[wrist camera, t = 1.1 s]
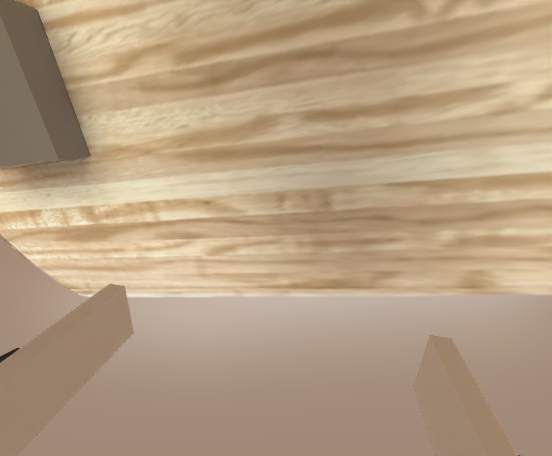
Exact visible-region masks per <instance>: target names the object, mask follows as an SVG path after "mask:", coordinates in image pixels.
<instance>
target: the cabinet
mask: <svg viewBox="0 0 552 456" xmlns="http://www.w3.org/2000/svg"><path fill="white" fill-rule="evenodd" d="M87 156H90V153H89V151H88V148H87V145H86V142H85V140H84V137H83V134H82V131H81V129H80V126H79V123H78V121H77V118H76V115H75V112H74V110H73V107H72V104H71V101H70V99H69V96H68V93H67V90H66V88H65V85H64V82H63V80H62V77H61V74H60V71H59V69H58V66H57V63H56V60H55V58H54V55H53V52H52V50H51V47H50V44H49V41H48V39H47V36H46V33H45V30H44V28H43V25H42V22H41V19H40V17H39V14H38V11H37V10H36V9H34V8H31V7H29V6H27V5H24V4H22V3H19V2H17V1H14V0H0V170H3V169H8V168H14V167H20V166H28V165H36V164H44V163H53V162H58V161H64V160H70V159H75V158H81V157H87Z"/></svg>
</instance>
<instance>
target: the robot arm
mask: <svg viewBox="0 0 552 456" xmlns="http://www.w3.org/2000/svg"><path fill="white" fill-rule="evenodd" d="M133 333H134V332H133V327H132V321H131V316H130V312H129V306H128V301H127V296H126V290H125V286H121V285H115V284H109V285H108V286H106V287H105V288H103V289H102V290H101V291H99V292H98V293H96V294H95V295H94V296H92V297H91V298H90V299H88V300H87V301H85V302H84V303H83V304H81V305H80V306H79V307H77V308H76V309H74V310H73V311H72V312H70V313H69V314H67V315H66V316H65V317H63V318H62V319H60V320H59V321H58V322H56V323H55V324H53V325H52V326H51V327H49V328H48V329H46V330H45V331H44V332H42V333H41V334H40V335H38V336H37V337H35V338H34V339H33V340H31V341H30V342H28V343H27V344H26V345H24V346H23V347H22V348H16V349H14V350H12V351H10V352H8V353H6V354H4V355H2V356H0V456H18V455H19V454H20V453H21V452H22V451H23V450H24V449H25V448H26V446H27V445H28V444H29V443H30V442H31V441H32V440H33V439H34V438H35V437H36V436H37V435H38V434H39V433H40V432H41V431H42V430H43V428H44V427H45V426H46V425H47V424H48V423H49V422H50V421H51V420H52V419H53V418H54V417H55V416H56V415H57V414H58V413H59V412H60V411H61V409H62V408H63V407H64V406H65V405H66V404H67V403H68V402H69V401H70V400H71V399H72V398H73V397H74V396H75V395H76V394H77V392H78V391H79V390H80V389H81V388H82V387H83V386H84V385H85V384H86V383H87V382H88V381H89V380H90V379H91V378H92V377H93V376H94V374H95V373H96V372H97V371H98V370H99V369H100V368H101V367H102V366H103V365H104V364H105V363H106V362H107V361H108V360H109V359H110V358H111V357H112V355H113V354H114V353H115V352H116V351H117V350H118V349H119V348H120V347H121V346H122V345H123V343H125V342H126V341H127V340H128V339H129V337H130V336H131V335H132V334H133ZM413 387H414V390H415V393H416V396H417V400H418V403H419V406H420V409H421V412H422V415H423V419H424V422H425V425H426V428H427V432H428V434H429V438H430V441H431V444H432V447H433V450H434V454H435V456H519V455H517V454H516V451H515V450H514V448H513V446H512V445H511V443H510V441H509V439H508V437H507V436H506V434H505V432H504V430H503V428H502V427H501V425H500V423H499V421H498V420H497V418H496V416H495V414H494V413H493V411H492V409H491V408H490V406H489V404H488V403H487V400H486V398H485V397H484V395H483V393H482V391H481V390H480V388H479V386H478V384H477V383H476V381H475V379H474V377H473V376H472V374H471V372H470V370H469V369H468V367H467V365H466V363H465V361H464V360H463V358H462V356H461V354H460V353H459V351H458V349H457V347H456V346H455V344H454V342H453V340H452V339H450V338H444V337H438V336H432V335H430V337H429V340H428V343H427V346H426V349H425V352H424V355H423V358H422V361H421V364H420V367H419V370H418V373H417V376H416V379H415V382H414V385H413Z"/></svg>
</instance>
